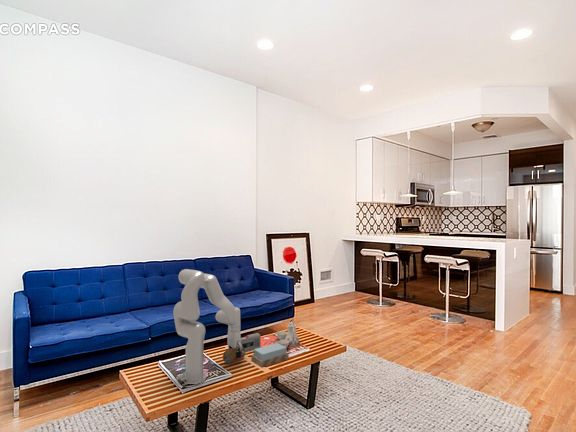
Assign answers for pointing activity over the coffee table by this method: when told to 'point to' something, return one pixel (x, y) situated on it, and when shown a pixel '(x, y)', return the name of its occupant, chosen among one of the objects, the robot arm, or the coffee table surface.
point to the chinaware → (288, 336)
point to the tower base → (269, 360)
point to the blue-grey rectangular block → (270, 351)
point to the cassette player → (251, 342)
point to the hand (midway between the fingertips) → (234, 355)
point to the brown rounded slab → (232, 355)
